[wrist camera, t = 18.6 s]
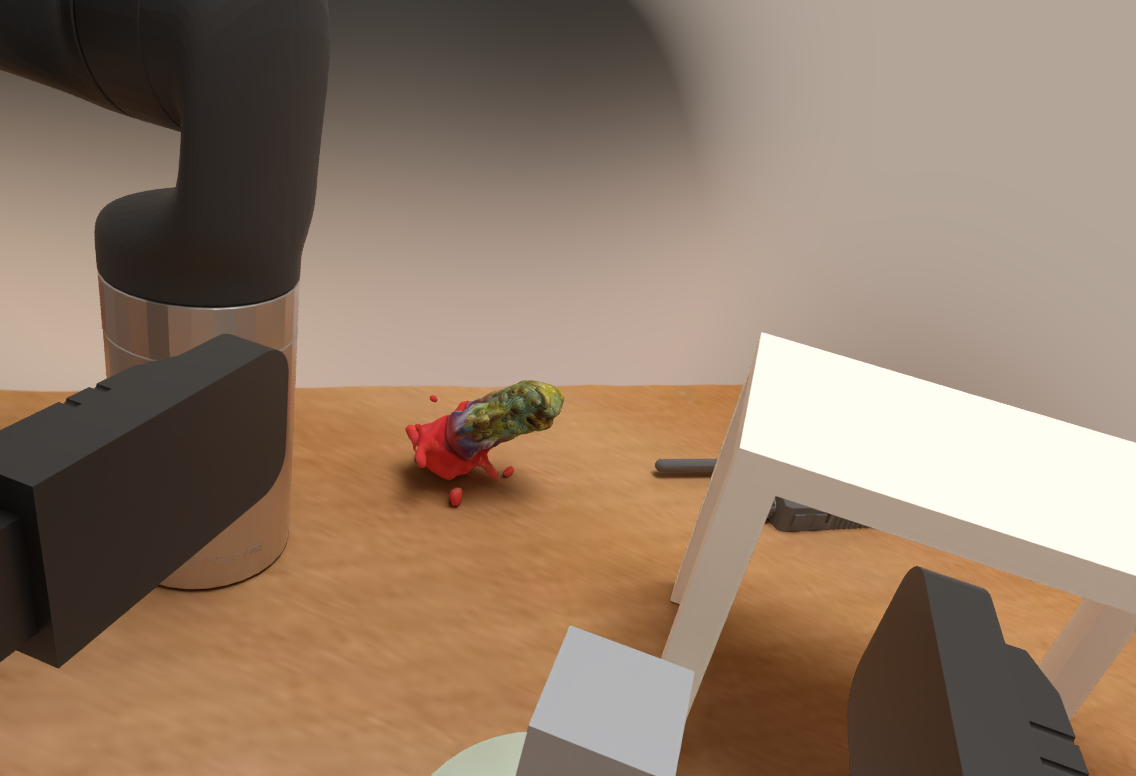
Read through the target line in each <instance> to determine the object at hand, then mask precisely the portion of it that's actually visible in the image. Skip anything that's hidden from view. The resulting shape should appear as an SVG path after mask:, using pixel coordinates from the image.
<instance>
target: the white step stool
mask: <svg viewBox="0 0 1136 776" xmlns="http://www.w3.org/2000/svg"><path fill="white" fill-rule="evenodd" d="M775 496H778V497H781V498H784V499H787V500H790V501H793V502H796V503H799V504H802V505H805V506H808V507H811V508H814V509H817V510H820V511H823V512H826V513H829V514H832V515H835V516H838V517H841V518H844V519H847V520H850V521H853V522H856V523H859V524H862V525H865V526H868V527H871V528H874V529H877V530H880V531H884V532H887V533H890V534H893V535H896V536H899V537H902V538H905V539H908V540H911V541H914V542H917V543H920V544H923V545H926V546H929V547H932V548H935V549H938V550H941V551H944V552H947V553H950V554H953V555H956V556H959V557H962V558H965V559H968V560H971V561H974V562H977V563H980V564H983V565H986V566H989V567H992V568H996V569H999V570H1002V571H1005V572H1008V573H1011V574H1014V575H1017V576H1020V577H1023V578H1026V579H1029V580H1032V581H1035V582H1038V583H1041V584H1044V585H1047V586H1050V587H1053V588H1056V589H1059V590H1062V591H1065V592H1068V593H1071V594H1074V595H1077V596H1080V597H1083V598H1084V599H1083V601H1082V602H1081V604H1080V605H1079V607H1078V608H1077V609H1076V611H1075V612H1074V614H1073V615H1072V617H1071V618H1070V620H1069V621H1068V623H1067V624H1066V626H1065V627H1064V629H1063V630H1062V632H1061V633H1060V635H1059V636H1058V638H1057V639H1056V641H1055V642H1054V644H1053V645H1052V647H1051V648H1050V649H1049V651H1048V652H1047V654H1046V655H1045V657H1044V658H1043V660H1042V661H1041V663H1040V664H1039V666H1038V667H1039V668H1040V669H1041V671H1042V672H1043V673H1044V675H1045V676H1046V677H1047V678H1048V680H1049V681H1050V682H1051V684H1052V685H1053V686H1054V687H1055V689H1056V690H1057V691H1058V693H1059V694H1060V697H1061V699H1062V702H1063V705H1064V708H1065V710H1066V713H1067V716H1068V719H1069V721H1070V720H1071V718H1072V717H1073V716H1074V714H1075V713H1076V711H1077V710H1078V709H1079V707H1080V706H1081V705H1082V703H1083V702H1084V701H1085V699H1086V698H1087V696H1088V695H1089V694H1090V692H1091V691H1092V690H1093V688H1094V687H1095V686H1096V684H1097V683H1098V682H1099V680H1100V679H1101V677H1102V676H1103V675H1104V673H1105V672H1106V671H1107V669H1108V668H1109V667H1110V665H1111V664H1112V662H1113V661H1114V660H1115V658H1116V657H1117V656H1118V654H1119V653H1120V652H1121V650H1122V649H1123V647H1124V646H1125V645H1126V643H1127V642H1128V641H1129V639H1130V638H1131V637H1132V635H1133V634H1134V633H1135V631H1136V443H1134V442H1131V441H1127V440H1124V439H1120V438H1117V437H1114V436H1110V435H1107V434H1103V433H1100V432H1097V431H1093V430H1090V429H1087V428H1083V427H1080V426H1077V425H1073V424H1070V423H1066V422H1063V421H1059V420H1056V419H1053V418H1049V417H1046V416H1043V415H1039V414H1036V413H1033V412H1029V411H1026V410H1023V409H1019V408H1016V407H1012V406H1009V405H1006V404H1002V403H999V402H996V401H992V400H989V399H985V398H982V397H979V396H975V395H972V394H969V393H965V392H962V391H958V390H955V389H952V388H948V387H945V386H941V385H938V384H935V383H931V382H928V381H925V380H921V379H918V378H915V377H911V376H908V375H904V374H901V373H897V372H894V371H891V370H888V369H884V368H881V367H877V366H874V365H871V364H867V363H864V362H861V361H857V360H854V359H850V358H847V357H843V356H840V355H837V354H833V353H830V352H827V351H823V350H820V349H817V348H813V347H810V346H807V345H803V344H800V343H796V342H793V341H790V340H786V339H783V338H779V337H776V336H773V335H769V334H766V333H761V335H760V338H759V341H758V344H757V347H756V350H755V353H754V355H753V358H752V361H751V364H750V367H749V370H748V373H747V376H746V378H745V381H744V384H743V387H742V390H741V393H740V396H739V399H738V401H737V404H736V407H735V410H734V413H733V416H732V419H731V422H730V425H729V427H728V430H727V433H726V436H725V439H724V442H723V445H722V448H721V450H720V453H719V456H718V459H717V462H716V465H715V468H714V471H713V473H712V476H711V479H710V482H709V485H708V488H707V491H706V494H705V496H704V499H703V502H702V505H701V508H700V511H699V514H698V517H697V520H696V522H695V525H694V528H693V531H692V534H691V537H690V540H689V543H688V545H687V548H686V551H685V554H684V557H683V560H682V563H681V566H680V568H679V571H678V574H677V577H676V580H675V583H674V587H673V591H672V595H671V599H670V601H672V602H675V603H678V604H680V606H679V609H678V611H677V614H676V617H675V620H674V623H673V625H672V628H671V631H670V634H669V637H668V639H667V642H666V645H665V648H664V651H663V653H662V656H661V659H663V660H665V661H668V662H671V663H673V664H676V665H679V666H681V667H684V668H687V669H689V670H692V671H695V673H694V678H693V684H692V689H691V694H690V700H689V705H688V711H687V716H688V714H689V711H690V709H691V706H692V704H693V701H694V699H695V696H696V694H697V691H698V689H699V686H700V684H701V681H702V679H703V676H704V674H705V671H706V669H707V666H708V664H709V661H710V659H711V656H712V654H713V651H714V649H715V646H716V644H717V641H718V639H719V636H720V634H721V631H722V629H723V626H724V624H725V621H726V619H727V616H728V614H729V611H730V609H731V606H732V604H733V601H734V599H735V596H736V594H737V591H738V589H739V586H740V584H741V581H742V579H743V576H744V574H745V571H746V569H747V566H748V564H749V561H750V559H751V556H752V554H753V551H754V549H755V546H756V544H757V541H758V539H759V536H760V534H761V531H762V528H763V526H764V523H765V521H766V518H767V516H768V513H769V511H770V508H771V506H772V503H773V501H774V498H775ZM687 716H686V719H687Z"/></svg>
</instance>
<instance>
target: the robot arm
mask: <svg viewBox="0 0 1136 776" xmlns="http://www.w3.org/2000/svg"><path fill="white" fill-rule="evenodd" d="M329 59H330V23H329V12H328V4H327V0H0V70H2V71H5V72H9V73H12V74H15V75H17V76H20V77H23V78H26V79H29V80H32V81H35V82H38V83H41V84H44V85H46V86H49V87H52V88H55V89H58V90H61V91H63V92H66V93H68V94H71V95H74V96H76V97H79V98H82V99H84V100H86V101H89V102H91V103H93V104H96V105H98V106H101V107H103V108H106V109H108V110H111V111H114V112H117V113H120V114H123V115H126V116H129V117H133V118H136V119H139V120H142V121H145V122H149V123H152V124H155V125H159V126H162V127H166V128H169V129H173V130H176V131H179V132H181V145H180V159H179V172H178V178H177V184H176V187H175V188H164V189H156V190H150V191H144V192H140V193H135V194H131V195H127V196H124V197H121V198H119V199H116V200H114V201H112V202H111V203H109V204H108V205H107V206H105V207H104V208H103V209H102V210H101V212H100V213H99V215H98V217H97V219H96V223H95V250H96V262H97V270H98V282H99V294H100V306H101V319H102V329H103V339H104V351H105V363H106V376H107V379H105V380H103V381H101V382H99V383H97V385H96V387H95V388H94V389H93V388H90V387H89V388H87V389H84V390H82V391H80V392H78V393H76V394H74V395H72V396H70V397H68V398H66V402H65V403H64V404H63V403H60V402H58V403H56V404H54V405H51V406H49V407H47V408H45V409H43V410H41V411H39V412H37V413H35V414H33V415H31V416H29V417H27V418H25V419H23V420H21V421H18V422H16V423H14V424H12V425H10V426H8V427H6V428H4V429H2V430H0V662H1V661H2V660H4V659H5V658H6V657H8V656H9V655H10V654H11V653H13V652H14V651H15V650H17V651H19V652H22V653H24V654H26V655H28V656H31V657H33V658H35V659H38V660H40V661H42V662H45V663H47V664H49V665H51V666H54V667H56V668H58V669H59V668H60V667H61V666H62V665H63V664H65V663H66V662H67V661H68V660H69V659H71V658H72V657H73V656H74V655H75V654H77V653H78V652H79V651H80V650H81V649H82V648H84V647H85V646H86V645H87V644H88V643H90V642H91V641H92V640H93V639H94V638H96V637H97V636H98V635H99V634H100V633H102V632H103V631H104V630H105V629H106V628H108V627H109V626H110V625H111V624H112V623H114V622H115V621H116V620H117V619H118V618H120V617H121V616H122V615H123V614H124V613H126V612H127V611H128V610H129V609H130V608H132V607H133V606H134V605H135V604H136V603H138V602H139V601H140V600H141V599H142V598H144V597H145V596H146V595H147V594H148V593H150V592H151V591H152V590H153V589H154V588H155V587H157V586H158V585H159V584H160V585H163V586H167V587H172V588H182V589H207V588H213V587H219V586H225V585H229V584H232V583H235V582H238V581H242V580H244V579H246V578H249V577H251V576H253V575H255V574H257V573H259V572H260V571H262V570H263V569H265V568H266V567H268V566H269V565H270V564H272V563H273V562H274V561H275V559H276V558H277V557H278V556H279V555H280V554H281V553H282V551H283V549H284V547H285V545H286V544H287V539H288V534H289V515H290V492H291V476H292V453H293V429H294V405H295V381H296V358H297V357H296V356H297V355H296V354H297V334H298V304H299V282H300V267H301V255H302V251H303V247H304V243H305V240H306V237H307V234H308V230H309V227H310V223H311V220H312V215H313V211H314V205H315V197H316V188H317V175H318V164H319V154H320V144H321V135H322V126H323V118H324V110H325V100H326V93H327V83H328V71H329ZM1074 739H1075V735H1074V732H1073V729H1072V727H1071V724H1070V721H1069V719H1068V716H1067V713H1066V710H1065V708H1064V705H1063V702H1062V699H1061V697H1060V694H1059V693H1058V691H1057V690H1056V689H1055V687H1054V686H1053V685H1052V684H1051V682H1050V681H1049V680H1048V678H1047V677H1046V676H1045V675H1044V673H1043V672H1042V671H1041V669H1040V668H1039V667H1038V666H1037V664H1036V663H1035V662H1034V660H1033V659H1032V658H1031V656H1030V655H1029V654H1028V653H1027V651H1025V650H1022V649H1020V648H1017V647H1014V646H1011V645H1008V644H1005V641H1004V638H1003V635H1002V631H1001V628H1000V625H999V621H998V618H997V615H996V612H995V608H994V605H993V602H992V599H991V596H990V594H989V593H988V591H987V590H986V589H984V588H981V587H978V586H975V585H972V584H969V583H966V582H963V581H960V580H957V579H954V578H951V577H948V576H945V575H942V574H939V573H936V572H933V571H930V570H927V569H924V568H921V567H918V566H916V567H913V568H912V569H910V570H909V571H908V573H907V574H906V575H905V577H904V578H903V580H902V582H901V584H900V585H899V587H898V589H897V591H896V593H895V595H894V597H893V599H892V601H891V603H890V605H889V606H888V608H887V610H886V612H885V614H884V616H883V618H882V620H881V622H880V624H879V626H878V627H877V629H876V631H875V633H874V635H873V637H872V639H871V641H870V643H869V645H868V647H867V648H866V650H865V652H864V654H863V656H862V658H861V660H860V662H859V664H858V667H857V669H856V672H855V675H854V678H853V682H852V686H851V690H850V695H849V702H848V741H849V764H850V776H1088V775H1089V773H1088V771H1087V768H1086V765H1085V762H1084V760H1083V757H1082V754H1081V751H1080V749H1079V746H1077V745H1074Z"/></svg>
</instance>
